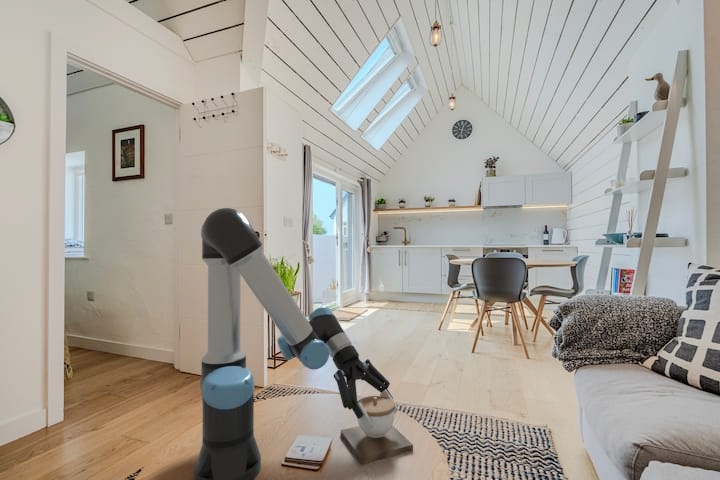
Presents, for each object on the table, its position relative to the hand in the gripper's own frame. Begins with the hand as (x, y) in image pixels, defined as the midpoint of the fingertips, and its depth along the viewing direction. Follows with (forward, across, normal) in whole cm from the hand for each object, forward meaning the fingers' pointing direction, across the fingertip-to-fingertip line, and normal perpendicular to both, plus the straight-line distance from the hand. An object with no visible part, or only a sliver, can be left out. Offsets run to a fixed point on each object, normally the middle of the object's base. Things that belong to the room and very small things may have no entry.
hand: (383, 419), depth 95 cm
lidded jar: (+1, 0, -5) cm, 5 cm away
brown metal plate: (+3, 0, -7) cm, 8 cm away
